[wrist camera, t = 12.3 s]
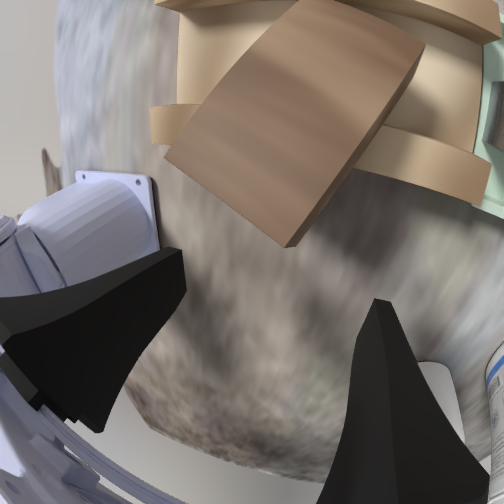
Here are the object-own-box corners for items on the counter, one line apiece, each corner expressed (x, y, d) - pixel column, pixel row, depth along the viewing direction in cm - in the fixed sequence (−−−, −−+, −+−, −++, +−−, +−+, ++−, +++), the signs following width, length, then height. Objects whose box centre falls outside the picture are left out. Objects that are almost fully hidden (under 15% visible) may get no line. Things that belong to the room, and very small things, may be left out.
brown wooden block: (413, 77, 8) (295, 246, 10) (315, 28, 9) (197, 173, 11) (426, 43, 6) (283, 247, 7) (308, -8, 7) (163, 157, 8)
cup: (477, 351, 15) (488, 485, 6) (439, 404, 20) (431, 508, 10) (383, 347, 18) (361, 499, 9) (362, 401, 23) (337, 509, 13)
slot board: (186, 133, 15) (151, 144, 13) (192, -10, 10) (157, -24, 7) (457, 183, 11) (480, 206, 8) (473, 19, 6) (497, 3, 3)
